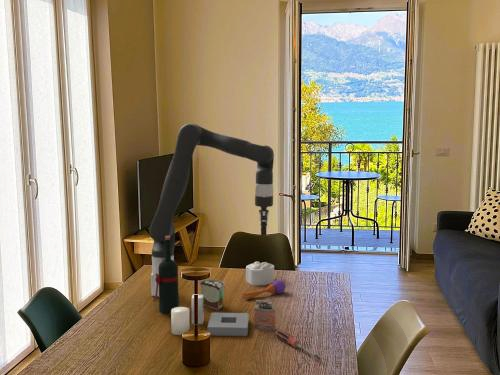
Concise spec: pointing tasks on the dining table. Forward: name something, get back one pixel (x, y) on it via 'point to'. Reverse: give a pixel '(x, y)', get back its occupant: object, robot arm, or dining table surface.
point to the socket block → (228, 324)
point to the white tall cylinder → (200, 309)
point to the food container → (213, 293)
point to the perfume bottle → (264, 315)
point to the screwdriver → (292, 341)
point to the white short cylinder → (180, 320)
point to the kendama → (267, 290)
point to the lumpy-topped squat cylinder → (260, 273)
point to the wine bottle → (167, 282)
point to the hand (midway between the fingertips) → (263, 232)
